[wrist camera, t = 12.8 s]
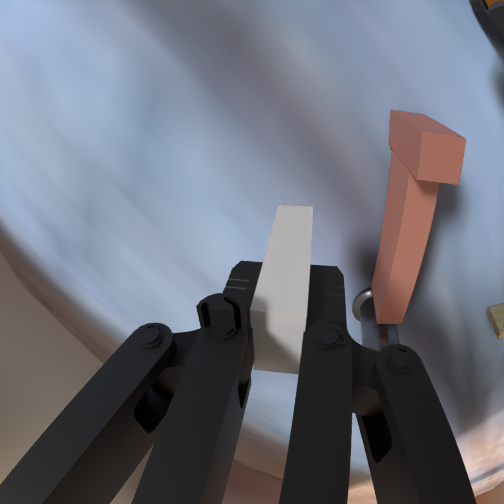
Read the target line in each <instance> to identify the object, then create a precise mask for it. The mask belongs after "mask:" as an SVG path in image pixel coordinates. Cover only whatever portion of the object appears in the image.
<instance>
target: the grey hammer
mask: <svg viewBox="0 0 504 504" xmlns="http://www.w3.org/2000/svg"><path fill="white" fill-rule="evenodd" d="M488 316H489V318H490V321H491V323H492V325H493V328H494V330H495V333H496V335H497V338H498V339H500V338H503V337H504V303H503V304H500V305H496V306H492V307H489V310H488Z"/></svg>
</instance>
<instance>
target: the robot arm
mask: <svg viewBox="0 0 504 504" xmlns="http://www.w3.org/2000/svg"><path fill="white" fill-rule="evenodd" d="M312 217H313V207H307V206H289V205H278V209H277V213H276V217H275V220H274V224H273V228H272V231H271V235H270V239H269V242H268V246H267V250H266V253H265V257H264V261H263V262H251V261H240V262H239V263H238V264H237V265H236V266H235V267H234V268H232V271H231V273H230V276H229V280H228V281H227V283H226V287H225V288H224V291H223V293H217V294H213V295H210V296H207V297H206V298H204V299H203V300H201V301H200V302H199V304H198V305H197V306H196V308H197V312H198V317H199V321H200V326H201V328H200V329H197V330H194V331H189V332H181V333H172V332H171V330H170V328H169V327H167V326H166V325H164V324H161V323H148V324H145V325H143V326H140V327H139V328H138V329H137V330H135V331H134V332H133V333H132V334H131V335H130V336H129V337H128V339H127V340H126V341H125V342H124V343H123V344H122V345H121V346H120V347H119V348H118V349H117V350H116V352H115V353H114V354H113V355H112V356H111V357H110V358H109V359H108V360H107V361H106V363H105V364H104V365H103V366H102V367H101V368H100V369H99V370H98V371H97V372H96V374H95V375H94V376H93V377H92V378H91V379H90V380H89V381H88V383H87V384H86V385H85V386H84V387H83V388H82V389H81V390H80V392H79V393H78V394H77V395H76V396H75V397H74V398H73V400H72V401H71V402H70V403H69V404H68V405H67V406H66V407H65V408H64V410H63V411H62V412H61V413H60V414H59V415H58V417H57V418H56V419H55V420H54V421H53V422H52V423H51V425H50V426H49V427H48V428H47V429H46V430H45V432H44V433H43V434H42V435H41V436H40V438H39V439H38V440H37V441H36V442H35V443H34V444H33V446H32V447H31V448H30V449H29V451H28V452H27V453H26V454H25V455H24V456H23V458H22V459H21V460H20V461H19V462H18V464H17V465H16V466H15V467H14V469H13V470H12V471H11V472H10V473H9V475H8V476H7V477H6V479H5V480H4V481H3V482H2V483H1V485H0V504H110V502H111V501H112V500H113V498H114V497H115V496H116V494H117V493H118V492H119V490H120V489H121V488H122V486H123V485H124V484H125V482H126V481H127V480H128V478H129V477H130V476H131V474H132V473H133V471H134V470H135V469H136V467H137V466H138V464H139V463H140V462H141V460H142V459H143V458H144V456H145V455H146V454H147V452H148V451H149V450H150V448H151V447H152V445H153V444H154V446H153V449H152V451H151V454H150V456H149V459H148V462H147V464H146V467H145V469H144V472H143V475H142V477H141V480H140V483H139V485H138V488H137V490H136V493H135V496H134V498H133V501H132V504H222V500H223V496H224V492H225V488H226V485H227V481H228V477H229V473H230V469H231V465H232V461H233V457H234V453H235V449H236V445H237V441H238V437H239V433H240V429H241V425H242V421H243V417H244V412H245V408H246V404H247V400H248V395H249V391H250V387H251V371H252V367H253V363H254V370H263V371H272V372H282V373H292V374H299V375H298V383H297V391H296V398H295V406H294V413H293V420H292V427H291V434H290V441H289V447H288V453H287V459H286V465H285V471H284V477H283V483H282V489H281V494H280V500H279V504H347V499H348V487H349V474H350V457H351V434H352V413H355V414H356V418H357V421H358V425H359V429H360V433H361V437H362V440H363V444H364V448H365V452H366V456H367V460H368V465H369V469H370V473H371V477H372V481H373V486H374V490H375V495H376V499H377V504H476V500H475V497H474V494H473V490H472V487H471V484H470V481H469V478H468V474H467V471H466V468H465V466H464V463H463V460H462V457H461V454H460V451H459V449H458V446H457V443H456V440H455V438H454V435H453V433H452V430H451V427H450V425H449V422H448V420H447V418H446V415H445V413H444V410H443V408H442V405H441V403H440V401H439V398H438V396H437V394H436V392H435V389H434V387H433V385H432V383H431V380H430V378H429V376H428V374H427V372H426V369H425V367H424V365H423V363H422V361H421V359H420V357H419V356H418V355H417V353H416V352H415V351H414V350H412V349H411V348H409V347H407V346H404V345H401V344H391V345H389V346H386V347H384V348H383V349H382V350H381V351H380V352H379V351H376V350H373V349H370V348H366V347H364V346H362V345H360V344H358V343H357V342H355V341H354V340H353V339H352V338H351V336H350V335H349V333H348V330H347V322H346V304H345V288H344V276H343V274H342V273H341V271H340V270H339V268H338V267H337V266H323V265H310V260H311V241H312Z"/></svg>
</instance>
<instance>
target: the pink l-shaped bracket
mask: <svg viewBox="0 0 504 504" xmlns="http://www.w3.org/2000/svg"><path fill="white" fill-rule="evenodd" d="M465 143H466V139H465V138H464V137H462V136H461V135H459V134H457V133H456V132H454V131H452V130H451V129H449V128H447V127H446V126H444V125H442V124H440V123H439V122H437V121H435V120H433V119H431V118H430V117H428V116H426V115H424V114H417V113H410V112H403V111H395V110H391V113H390V131H389V146H390V147H391V148H392V156H391V166H390V175H389V184H388V192H387V200H386V207H385V214H384V220H383V226H382V232H381V238H380V244H379V250H378V255H377V260H376V265H375V270H374V275H373V280H372V284H371V287H372V293H373V299H374V306H375V313H376V320H377V324H402V321H403V318H404V316H405V313H406V310H407V307H408V304H409V301H410V298H411V295H412V292H413V289H414V286H415V283H416V280H417V276H418V273H419V270H420V266H421V263H422V259H423V255H424V252H425V248H426V244H427V240H428V236H429V232H430V228H431V224H432V219H433V215H434V210H435V206H436V201H437V196H438V190H439V185H440V183H448V184H455V185H459V180H460V175H461V169H462V164H463V157H464V151H465Z"/></svg>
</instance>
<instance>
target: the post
mask: <svg viewBox="0 0 504 504" xmlns="http://www.w3.org/2000/svg"><path fill="white" fill-rule="evenodd" d="M352 308H353V314H354V316H355V318H356V319H357V320H358V321H360V322H361V330H362V344H363V346H364V347H366V348H370V349H373V350H376V351H379V352H380V351H381V350H382V349H383V348H384V347H386V346H389V345H391V344H400V343H399V337H398V332H397V326H396V324H377V320H376V313H375V306H374V299H373V293H372V288H368V289H366V290H364V291H362V292H361V293H359V294H358V295H357V296H356V298H355V299H354V301H353V305H352Z"/></svg>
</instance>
